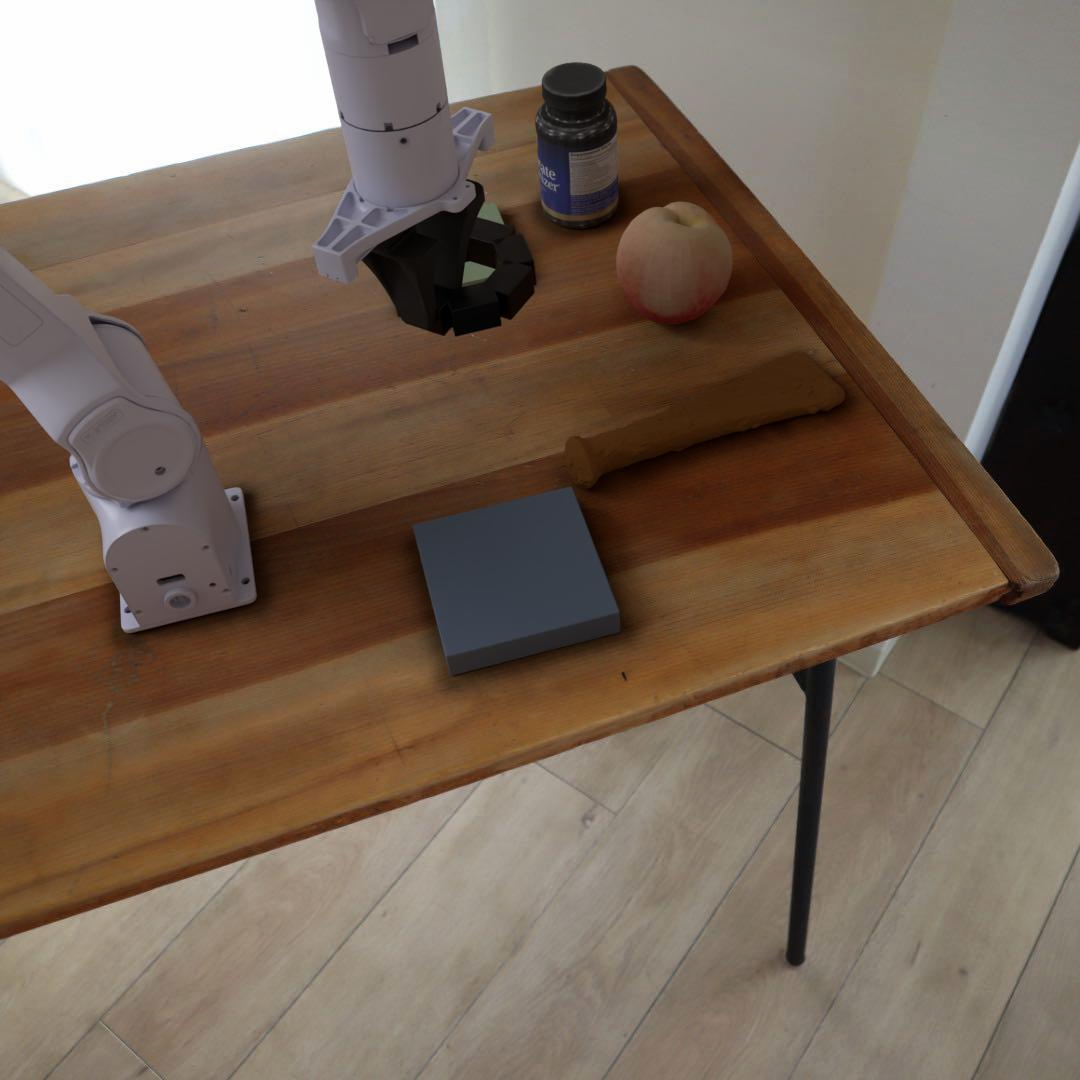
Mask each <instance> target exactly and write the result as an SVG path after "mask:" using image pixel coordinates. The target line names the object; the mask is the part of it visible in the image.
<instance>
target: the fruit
mask: <svg viewBox="0 0 1080 1080" xmlns="http://www.w3.org/2000/svg"><path fill="white" fill-rule="evenodd" d="M618 243H619V244H618V246H617V250H616V266H615V267H616V275H617V278H618V281H619V283H620V286H621V289H622V291H623V293H624V294H625V297H626V298H627V299H628V301H629V302H630V303H631V305H632V306H633V307H634V308H635V309H636V310H637V311H638V312H639V313H640V314H642V315H643V316H644V317H645V318H647V319H648V320H649V321H652V322H654V323H656V324H661V325H664V326H674V325H682V324H684V323H689V322H691V321H693V320H695V319H697V318H699V317H701V316H702V315H704V314H705V313H706V312H707V311H709V310H710V309H711V308H712V307H713V306H714V305H715V304H716V303H717V302H718V301H719V299H720V298H721V297H722V296H723V294H724V293H725V292H726V290H727V288H728V286H729V283H730V279H731V276H732V271H733V256H734V255H733V248H732V245H731V242H730V240H729V238H728V236H727V234H726V233H725V231H724V230H723V228H721V226H720V225H719V224H718V223H717V222H716V221H715V219H714V217H713V216H712V215H711V214H710V213H709V212H707V211H706V210H705V209H704V208H703V207H701V206H699V205H697V204H695V203H692V202H688V201H680V200H679V201H675V202H670V203H668V204H667V205H665V206H663V207H661V206H653V207H650V208H647V209H645V210H644V211H642V212H641V213H639V214H638V215H637V216H635V218H633V219H632V220H631V221H630V222H629V224H628V226H627V227H626V229H625V230H624V231H623V233H622V235H621V238H620V240H619V242H618Z"/></svg>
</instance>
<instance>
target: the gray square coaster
mask: <svg viewBox="0 0 1080 1080" xmlns="http://www.w3.org/2000/svg"><path fill="white" fill-rule="evenodd" d="M412 530H413V534H414V538H415V542H416V546H417V550H418V554H419V558H420V562H421V567H422V570H423V574H424V578H425V582H426V586H427V590H428V595H429V597H430V601H431V606H432V610H433V613H434V618H435V622H436V625H437V630H438V634H439V638H440V642H441V646H442V649H443V653H444V658H445V661H446V665H447V669H448V673H449V676H450V677H451V676H457V675H461V674H464V673H468V672H472V671H475V670H479V669H483V668H488V667H491V666H494V665H499V664H502V663H506V662H510V661H514V660H518V659H522V658H527V657H531V656H533V655H538V654H542V653H545V652H549V651H553V650H556V649H561V648H563V647H565V648H566V647H568V646H573V645H577V644H579V643H583V642H587V641H591V640H595V639H600V638H603V637H606V636H611V635H615V634H618V633H621V611H620V609H619V607H618V604H617V602H616V598H615V596H614V593H613V590H612V588H611V585H610V583H609V581H608V577H607V574H606V571H605V570H604V567H603V564H602V561H601V559H600V556H599V553H598V551H597V548H596V546H595V543H594V540H593V538H592V535H591V533H590V530H589V527H588V525H587V522H586V519H585V517H584V514H583V511H582V509H581V506H580V504H579V500H578V498H577V496H576V493H575V490H574V488H573V486H572V485H571V486H566V487H563V488H562V487H561V488H557V489H555V490H554V489H553V490H550V491H546V492H541V493H537V494H534V495H529V496H526V497H522V498H516V499H513V500H509V501H505V502H500V503H497V504H492V505H488V506H485V507H480V508H477V509H476V508H475V509H471V510H468V511H464V512H461V513H456V514H452V515H448V516H444V517H439V518H435V519H431V520H427V521H422V522H419V523H415V524H412Z"/></svg>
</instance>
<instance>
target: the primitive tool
mask: <svg viewBox="0 0 1080 1080" xmlns="http://www.w3.org/2000/svg"><path fill="white" fill-rule="evenodd" d="M845 395H846V393H845V391H844V389H843V387H842V386H841V385H839V384H838V383H837V382H836V381H834V379H832V378H831V376H829V375H828V374H827V373H826V372H825V371H823V370H822V368H821V367H820V366H818V365H817V364H816V363H815V362H814V361H813V360H812V359H811V358H809V356H807V355H806V354H804V353H802V352H801V353H799V352H798V353H797V352H795V353H791V354H789V355H788V354H787V355H784V356H781V357H779V358H777V359H775V360H774V361H772V362H769V363H768V364H765V365H764V366H762V367H761V368H758V369H756V370H753V371H751V372H750V373H748V374H746V375H744V376H742V377H740V378H738V379H735V380H733V381H730V382H728V383H725V384H722V385H719V386H717V387H715V388H712V389H710V390H708V391H706V392H704V393H702V394H700V395H697V396H694V397H693V398H690V399H688V400H686V401H680V402H675V403H673V404H671V405H669V407H668V408H666V409H665V410H663V411H659V412H657V413H655V414H653V415H650V416H645V417H643V418H639V419H637V420H635V421H633V422H631V423H628V424H626V425H625V426H622V427H616V428H614V429H612V430H609V431H605V432H601V433H598V434H595V435H593V436H589V437H582V436H580V435H571V436H569V437H568V438H567V439H566V440H565V444H564V445H565V446H564V455H563V457H564V462H565V468H566V470H567V472H568V474H569V476H570V477H571V479H572V481H573V482H574V483H575V485H576V486H577V487H579V488H581V489H585V490H589V489H591V488H593V487H594V486H595V485H596V483H597V481H598V480H599V479H600V478H601V476H603V475H605V474H607V473H610V472H612V471H614V470H615V471H616V470H620V469H622V468H625V467H628V466H630V465H633V464H635V463H638V462H642V461H643V460H647V459H652V458H653V459H654V458H657V457H658V456H661V455H664V454H666V453H669V452H673V451H674V452H676V453H677V452H681V451H683V450H684V449H688V448H689V447H691V446H693V445H696V444H699V443H703V442H706V441H710V440H712V439H713V440H714V439H718V438H719V437H723V436H726V435H729V434H735V433H737V432H745V431H747V430H750V429H756V428H757V429H758V428H759V427H760V426H765V425H769V424H771V423H776V422H779V421H784V420H788V419H791V418H797V417H801V416H805V415H815V414H817V412H820V411H822V412H829V411H831V410H832V409H833V408H835V407H838V406H839V405H840V406H841V404H842V403H843V401H845V399H846V396H845Z"/></svg>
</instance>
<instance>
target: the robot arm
mask: <svg viewBox="0 0 1080 1080" xmlns="http://www.w3.org/2000/svg"><path fill="white" fill-rule="evenodd" d="M313 1H314V6H315V10H316V15H317V20H318V22H317V23H318V29H319V33H320V37H321V43H322V47H323V51H324V56H325V59H326V64H327V68H328V74H329V77H330V82H331V86H332V90H333V95H334V99H335V100H334V101H335V103H336V108H337V109H336V110H337V113H338V118H339V123H340V126H341V131H342V135H343V140H344V144H345V149H346V153H347V157H348V161H349V168H350V170H351V178H350V181H349V182H348V185H347V187H345V190H344V192H343V194H342V196H341V199H340V200H339V203H338V204H337V207H336V209H335V210H334V213H333V215H332V217H331V219H330V221H329V223H328V225H327V226H326V228H325V230H324V231H323V233H322V234H321V235H320V236H319V238H317V240H316V241H315V242H313V244H311V249H312V252H313V256H314V257H313V258H314V260H315V264H316V267H317V272H318V276H321V277H324V278H327V279H328V280H332V281H335V282H337V283H341V284H343V285H350V284H351V283H353V281H355V280H356V278H358V276H359V275H360V274H359V269H358V264H359V263H360V262H362V263H363V264H364V265H365V266H366V267H367V268H368V269H369V271H370V272H372V274H373V275H374V276H375V278H376V279H377V280H378V281H379V283H380V284H381V286H382V287H383V289H384V290H385V292H386V294H387V295H388V297H389V298H390V300H391V302H392V304H393V306H394V308H395V310H396V309H397V311H398V313H399V315H400V317H399V318H400V319H401V321H402V322H404V323H405V322H407V323H409V324H412V325H415V326H418V327H421V328H424V329H426V330H425V331H427V330H428V329H430V328H431V327H432V326H433V325H434V324H435V318H436V300H435V290H434V284H435V285H438V286H441V287H444V288H448V289H456V288H460V287H462V283H463V275H464V267H465V261H466V254H467V249H468V244H469V240H470V236H471V233H472V230H473V227H474V224H475V221H476V218H477V216H478V214H479V212H480V209H481V208H482V206H483V205H485V202H486V196H485V190H484V189H485V188H484V186H483V185H482V184H481V183H480V182H478V181H476V180H472V179H469V178H468V176H469V173H470V171H471V168H472V166H473V163H474V161H475V158H476V155H477V153H478V151H481V152H488V151H489V150H490V149H491V148H492V147H493V146H494V145H495V144H496V134H495V126H494V125H495V124H494V118H493V117H494V115H493V114H492V113H490V112H487V111H484V110H478V109H475V108H471V107H468V106H463V107H462V108H460V109H459V110H458V111H457V112H456V113H454V114H452V115H451V109H450V103H449V96H448V87H447V82H446V75H445V69H444V68H445V67H444V62H443V61H444V60H443V54H442V48H441V39H440V33H439V26H438V21H437V20H438V19H437V14H436V8H435V7H436V6H435V3H434V0H313ZM397 311H396V312H397ZM409 324H408V325H409ZM412 325H411V326H412ZM415 326H414V327H415ZM418 327H417V328H418ZM421 328H420V329H421ZM424 329H423V330H424ZM0 381H2V382H3V383H4V384H6V385H7V386H8V388H10V390H12V392H13V393H14V394H15V395H16V396H17V398H18V399H19V400H20V401H21V402H22V404H23V405H24V406H25V408H27V410H28V411H29V412H30V414H31V415H32V416H33V418H34V419H35V420H36V421H37V422H38V424H39V425H40V426H41V427H42V429H43V430H44V431H45V432H46V433H47V435H48V436H49V437H50V438H51V439H52V440H53V441H54V442H55V443H56V444H58V445H59V446H60V447H62V448H63V449H65V450H66V451H67V452H69V454H70V456H69V467H70V469H71V472H72V474H73V475H74V478H75V480H76V482H77V483H78V485H79V487H80V489H81V490H82V492H83V494H84V496H85V497H86V499H87V502H88V503H89V505H90V506H91V508H92V510H93V512H94V514H95V516H96V518H97V519H98V523H99V526H100V531H101V540H102V556H103V564H104V566H105V569H106V571H107V573H108V575H109V576H110V578H111V580H112V582H113V583H114V585H115V587H116V588H117V590H118V592H119V605H120V606H119V607H120V608H119V609H120V626H121V629H122V630H123V632H124V633H126V634H132V633H136V632H141V631H145V630H148V629H153V628H157V627H161V626H164V625H169V624H172V623H177V622H180V621H185V620H190V619H193V618H197V617H202V616H206V615H209V614H213V613H217V612H221V611H226V610H230V609H233V608H237V607H241V606H245V605H249V604H253V602H255V601H256V599H257V597H258V593H257V587H256V579H255V572H254V564H253V556H252V547H251V539H250V533H249V525H248V517H247V511H246V501H245V495H244V492H243V490H242V488H240V487H239V486H236V487H229V488H226V489H225V488H224V485H223V483H222V481H221V478H220V475H219V473H218V470H217V469H216V466H215V464H214V462H213V459H212V457H211V455H210V452H209V449H208V447H207V446H206V442H205V440H204V438H203V435H202V434H201V433H202V432H201V431H200V429H199V426H198V423H197V422H196V420H195V419H194V417H193V416H192V415H191V414H190V413H189V412H188V411H186V410H185V409H183V407H182V405H181V404H180V402H179V399H178V398H177V397H176V395H175V394H174V392H173V390H172V389H171V386H170V385H169V384H168V382H167V381H166V379H165V377H164V375H163V374H162V372H161V370H160V369H159V368H158V366H157V364H156V362H155V361H154V359H153V357H152V356H151V354H150V350H149V347H148V345H147V344H146V341H145V339H144V337H143V336H142V334H141V333H140V332H139V331H138V330H137V329H136V327H134V326H133V325H132V324H130V323H128V322H127V321H125V320H122V319H120V318H119V317H115V316H110V315H105V314H102V313H99V312H96V311H93V310H91V309H90V308H88V307H86V306H85V305H83V304H82V303H81V302H80V301H79V300H77V299H76V298H75V297H74V296H73V295H72V294H70V293H62V294H57V293H56V292H54V290H52V289H51V288H50V287H48V285H46V284H45V283H44V282H43V281H42V280H41V279H39V278H38V277H37V276H36V275H35V274H33V273H32V272H31V271H30V270H29V269H28V268H27V267H26V266H25V265H23V264H22V263H21V262H19V260H17V259H16V258H15V257H14V255H12V254H11V253H9V252H8V251H7V250H6V249H5V248H4V247H2V246H1V245H0Z"/></svg>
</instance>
